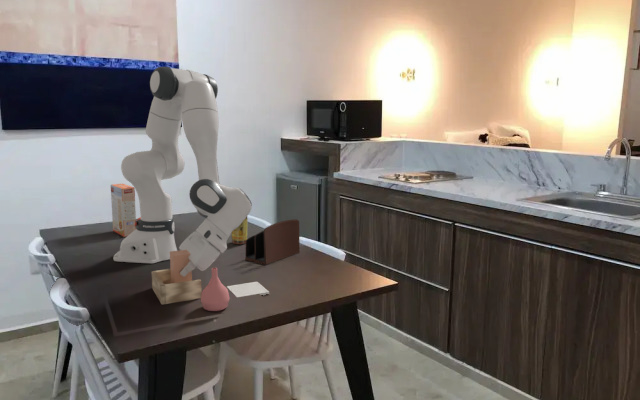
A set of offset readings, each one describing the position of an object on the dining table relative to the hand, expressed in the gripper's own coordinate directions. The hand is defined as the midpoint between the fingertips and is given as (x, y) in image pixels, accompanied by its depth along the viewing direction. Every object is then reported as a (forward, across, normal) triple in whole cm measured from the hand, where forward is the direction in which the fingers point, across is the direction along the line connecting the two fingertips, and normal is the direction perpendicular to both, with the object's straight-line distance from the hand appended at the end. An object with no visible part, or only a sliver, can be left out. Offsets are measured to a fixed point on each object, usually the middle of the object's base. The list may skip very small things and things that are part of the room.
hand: (178, 271), depth 148 cm
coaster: (-8, +6, +18) cm, 21 cm away
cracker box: (+9, -83, +2) cm, 84 cm away
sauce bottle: (-19, -47, +30) cm, 59 cm away
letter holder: (-23, -24, +34) cm, 47 cm away
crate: (+5, 0, +5) cm, 7 cm away
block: (+4, 0, +5) cm, 6 cm away
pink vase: (+1, +16, +10) cm, 19 cm away
